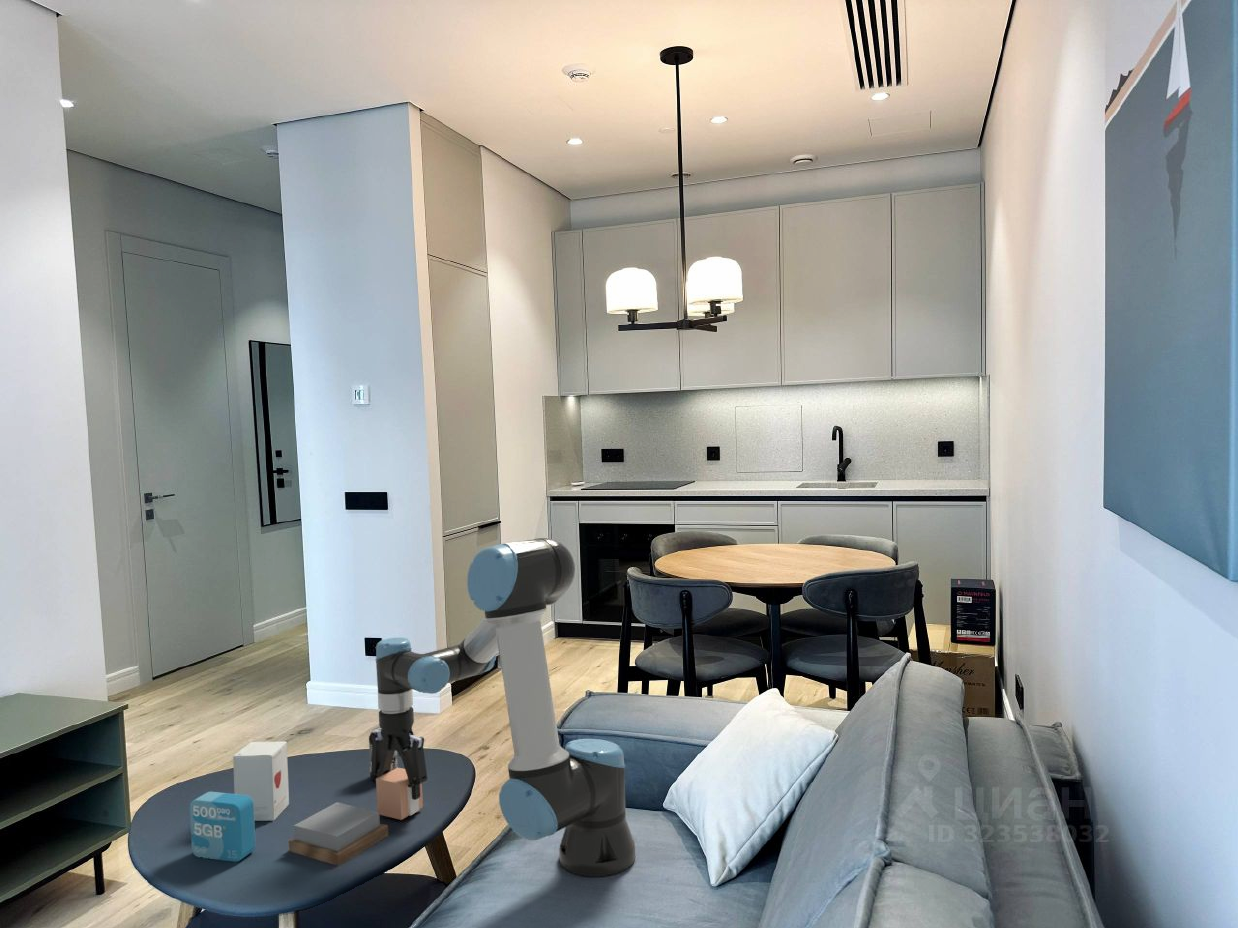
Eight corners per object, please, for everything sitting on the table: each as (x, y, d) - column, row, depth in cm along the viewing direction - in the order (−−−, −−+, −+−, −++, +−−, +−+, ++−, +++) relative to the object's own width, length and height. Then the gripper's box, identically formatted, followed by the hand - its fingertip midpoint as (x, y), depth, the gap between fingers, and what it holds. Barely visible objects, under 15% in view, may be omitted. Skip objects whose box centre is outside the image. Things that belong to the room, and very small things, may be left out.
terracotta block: (423, 807, 198) (421, 772, 197) (401, 819, 191) (399, 783, 191) (399, 801, 201) (397, 767, 201) (377, 813, 195) (375, 778, 194)
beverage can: (368, 775, 219) (366, 727, 218) (395, 770, 222) (393, 723, 221) (372, 784, 213) (370, 736, 212) (400, 779, 216) (398, 731, 215)
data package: (191, 856, 179) (188, 799, 178) (207, 846, 183) (204, 790, 183) (241, 863, 176) (238, 804, 175) (256, 852, 180) (253, 795, 180)
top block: (379, 825, 186) (379, 811, 186) (338, 851, 175) (337, 836, 175) (337, 815, 191) (336, 802, 191) (294, 839, 181) (293, 825, 180)
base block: (388, 839, 186) (388, 825, 186) (338, 869, 174) (338, 854, 174) (340, 825, 193) (340, 812, 193) (289, 854, 181) (288, 840, 180)
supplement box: (274, 821, 194) (271, 755, 194) (234, 822, 194) (231, 755, 194) (290, 803, 203) (287, 740, 203) (252, 804, 204) (249, 740, 203)
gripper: (441, 708, 194) (446, 810, 195) (374, 698, 203) (379, 795, 204) (418, 719, 187) (423, 824, 188) (350, 707, 197) (355, 808, 198)
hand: (400, 809), depth 196 cm, fingers closed on terracotta block, 7 cm apart
